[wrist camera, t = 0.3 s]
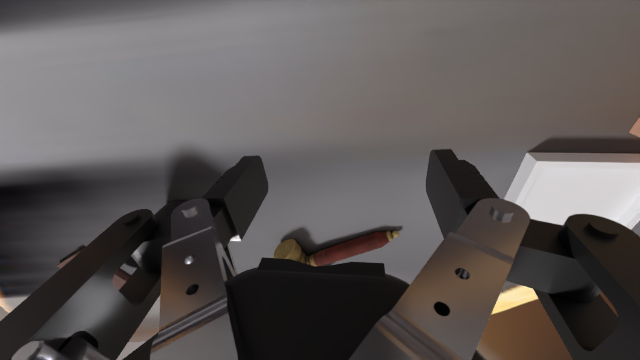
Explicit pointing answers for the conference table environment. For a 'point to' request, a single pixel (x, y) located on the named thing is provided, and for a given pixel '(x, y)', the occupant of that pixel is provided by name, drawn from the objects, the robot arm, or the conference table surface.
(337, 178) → the conference table surface
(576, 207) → the tray
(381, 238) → the gavel
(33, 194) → the conference table surface
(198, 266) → the robot arm
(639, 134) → the pink open-ended box
